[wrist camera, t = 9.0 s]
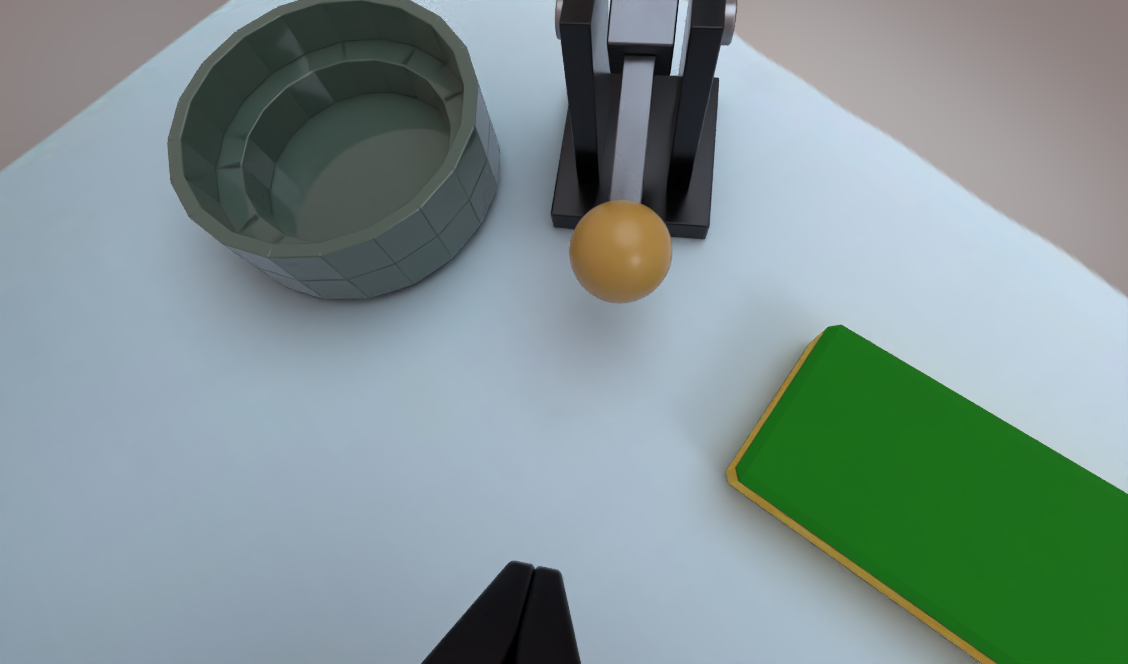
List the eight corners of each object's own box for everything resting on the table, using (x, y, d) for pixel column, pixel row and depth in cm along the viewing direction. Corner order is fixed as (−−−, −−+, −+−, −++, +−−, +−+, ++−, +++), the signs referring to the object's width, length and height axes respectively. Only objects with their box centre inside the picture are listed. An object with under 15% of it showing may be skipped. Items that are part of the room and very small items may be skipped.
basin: (533, 253, 26) (514, 194, 21) (260, 340, 26) (178, 301, 21) (465, 43, 30) (437, -45, 25) (231, 118, 30) (158, 43, 25)
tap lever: (664, 307, 21) (669, 308, 18) (571, 298, 22) (557, 297, 18) (695, 7, 21) (708, -56, 17) (599, 4, 21) (591, -57, 17)
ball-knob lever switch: (705, 240, 25) (757, 79, 16) (553, 227, 26) (517, 69, 17) (715, 95, 27) (765, -120, 18) (575, 88, 28) (554, -119, 19)
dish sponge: (1084, 737, 18) (1151, 769, 16) (720, 478, 22) (732, 474, 20) (1167, 553, 20) (1240, 558, 17) (812, 337, 23) (834, 318, 21)
